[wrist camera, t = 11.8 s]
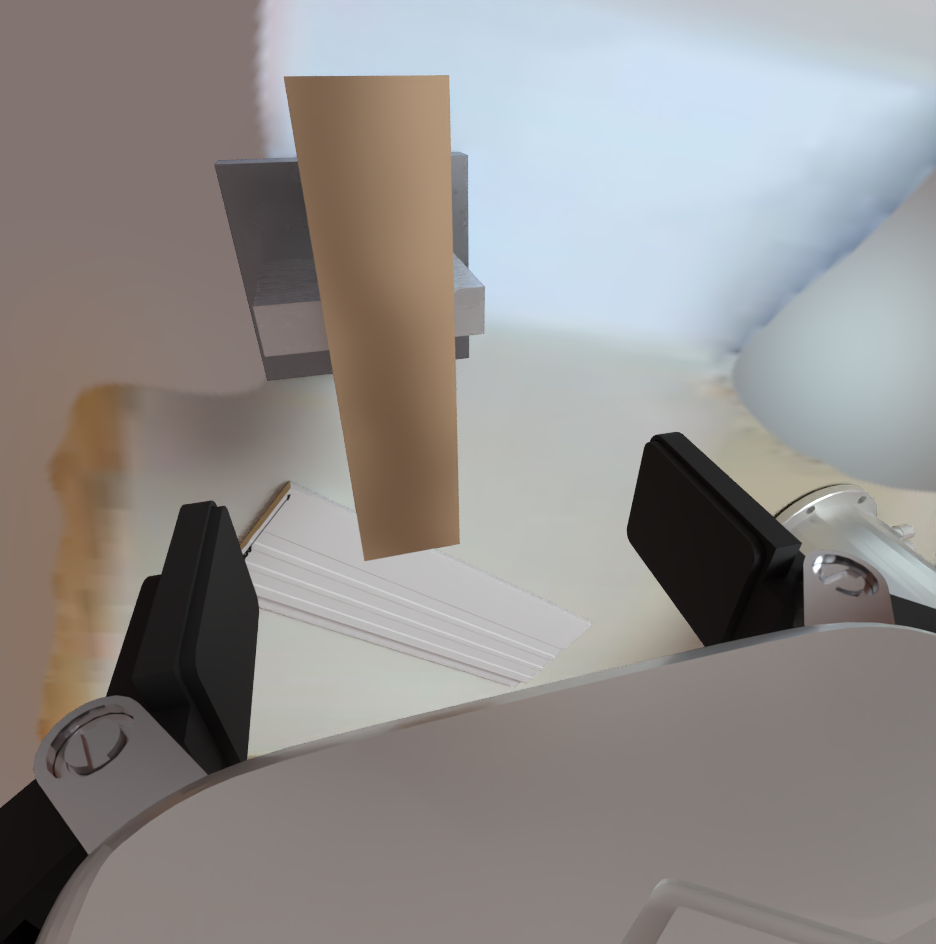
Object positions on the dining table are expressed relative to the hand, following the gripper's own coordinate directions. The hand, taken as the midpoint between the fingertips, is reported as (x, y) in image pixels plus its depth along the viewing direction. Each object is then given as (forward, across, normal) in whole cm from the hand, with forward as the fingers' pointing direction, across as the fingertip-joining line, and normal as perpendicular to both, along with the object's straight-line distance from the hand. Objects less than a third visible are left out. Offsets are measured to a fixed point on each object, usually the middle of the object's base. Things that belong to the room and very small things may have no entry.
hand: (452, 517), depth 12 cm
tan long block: (+12, 0, 0) cm, 12 cm away
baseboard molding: (+21, -1, +27) cm, 34 cm away
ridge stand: (+20, 0, 0) cm, 20 cm away
